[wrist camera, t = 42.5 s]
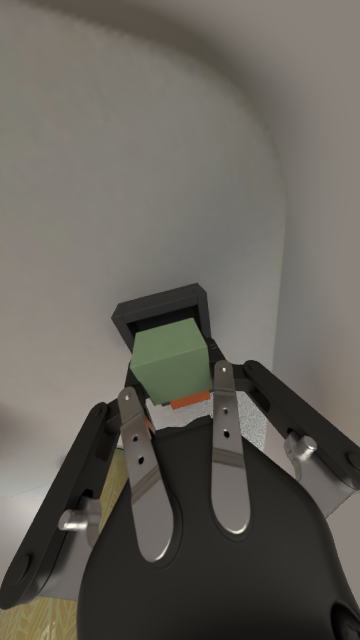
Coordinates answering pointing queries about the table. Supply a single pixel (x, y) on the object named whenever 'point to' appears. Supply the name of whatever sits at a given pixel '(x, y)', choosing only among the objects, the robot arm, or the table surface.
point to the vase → (51, 613)
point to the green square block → (171, 361)
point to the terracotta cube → (190, 399)
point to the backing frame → (163, 313)
